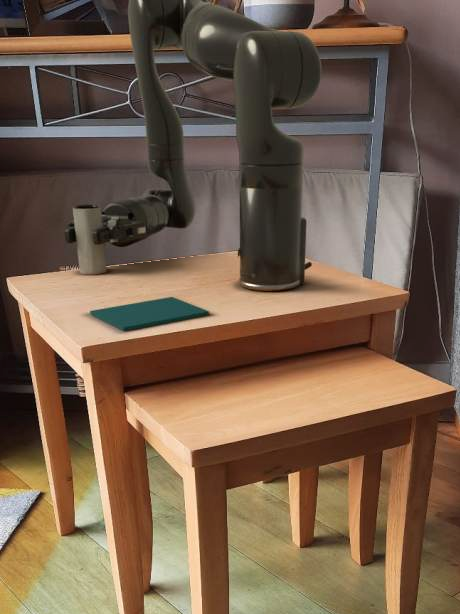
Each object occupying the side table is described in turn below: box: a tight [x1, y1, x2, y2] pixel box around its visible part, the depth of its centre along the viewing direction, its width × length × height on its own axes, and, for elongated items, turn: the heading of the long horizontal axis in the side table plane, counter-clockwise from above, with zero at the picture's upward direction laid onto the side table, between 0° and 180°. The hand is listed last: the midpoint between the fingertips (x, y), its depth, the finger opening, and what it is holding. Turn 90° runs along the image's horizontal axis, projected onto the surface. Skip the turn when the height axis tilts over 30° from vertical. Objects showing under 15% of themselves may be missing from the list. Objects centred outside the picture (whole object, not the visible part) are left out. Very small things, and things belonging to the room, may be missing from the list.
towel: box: [89, 296, 210, 332], centre depth 102 cm, size 13×10×1 cm
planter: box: [72, 204, 108, 275], centre depth 123 cm, size 4×4×10 cm
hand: (81, 237), depth 120 cm, fingers closed on planter, 4 cm apart
